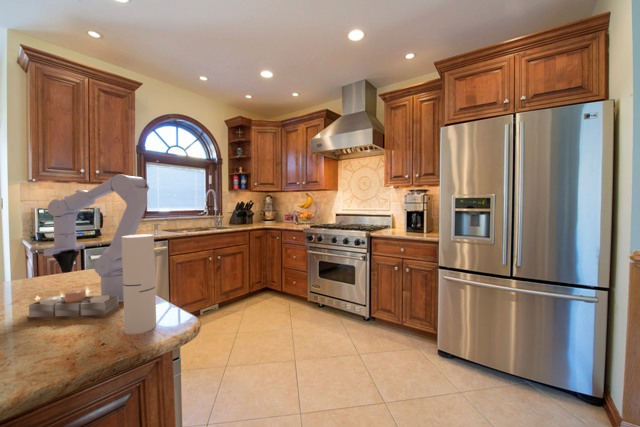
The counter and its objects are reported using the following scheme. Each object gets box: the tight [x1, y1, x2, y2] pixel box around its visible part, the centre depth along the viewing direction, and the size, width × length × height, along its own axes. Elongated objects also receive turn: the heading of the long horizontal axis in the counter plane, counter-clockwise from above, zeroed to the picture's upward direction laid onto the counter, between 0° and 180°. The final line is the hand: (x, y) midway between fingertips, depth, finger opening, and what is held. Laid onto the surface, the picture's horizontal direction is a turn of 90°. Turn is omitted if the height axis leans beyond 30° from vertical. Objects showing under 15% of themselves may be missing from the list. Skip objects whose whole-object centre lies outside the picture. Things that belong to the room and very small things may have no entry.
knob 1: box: [39, 295, 62, 304], centre depth 82 cm, size 5×5×4 cm
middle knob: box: [64, 289, 87, 303], centre depth 82 cm, size 5×5×4 cm
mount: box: [27, 295, 120, 322], centre depth 82 cm, size 21×7×4 cm, turn 94°
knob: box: [90, 295, 110, 303], centre depth 83 cm, size 5×5×4 cm
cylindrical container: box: [122, 233, 157, 335], centre depth 73 cm, size 7×7×25 cm
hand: (66, 272), depth 96 cm, fingers closed
